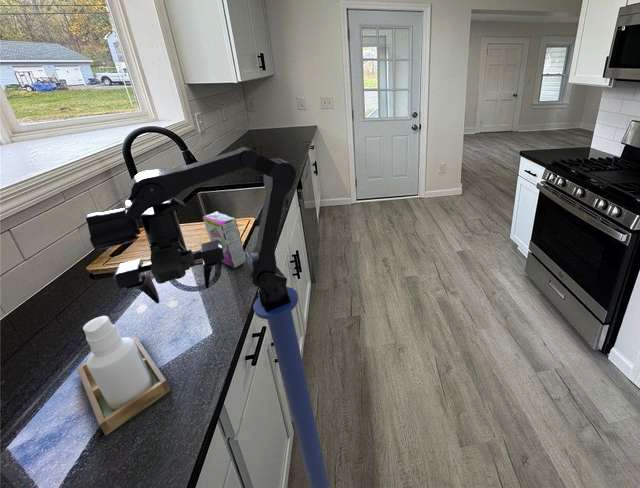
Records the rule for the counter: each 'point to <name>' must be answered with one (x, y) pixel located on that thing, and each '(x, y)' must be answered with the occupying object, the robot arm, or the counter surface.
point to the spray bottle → (115, 363)
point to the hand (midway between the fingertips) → (183, 294)
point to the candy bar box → (226, 237)
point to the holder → (115, 418)
